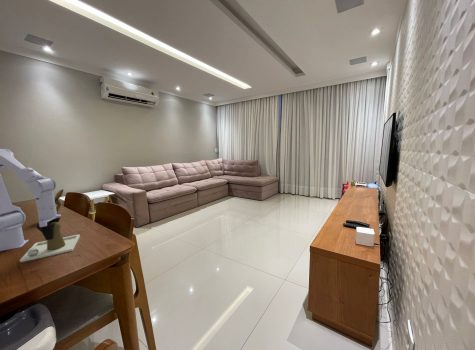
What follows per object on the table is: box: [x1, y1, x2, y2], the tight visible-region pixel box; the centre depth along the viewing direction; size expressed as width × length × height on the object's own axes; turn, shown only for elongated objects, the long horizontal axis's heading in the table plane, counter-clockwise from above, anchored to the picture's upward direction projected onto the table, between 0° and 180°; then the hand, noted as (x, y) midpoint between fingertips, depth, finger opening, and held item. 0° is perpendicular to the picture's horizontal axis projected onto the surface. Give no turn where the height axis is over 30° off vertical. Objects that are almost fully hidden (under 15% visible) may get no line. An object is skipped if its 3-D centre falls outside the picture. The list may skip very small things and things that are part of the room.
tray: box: [19, 233, 81, 263], centre depth 87 cm, size 16×16×2 cm
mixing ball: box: [26, 248, 39, 257], centre depth 80 cm, size 3×3×3 cm
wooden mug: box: [54, 189, 64, 215], centre depth 122 cm, size 9×14×18 cm, turn 148°
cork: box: [46, 221, 65, 250], centre depth 87 cm, size 6×6×11 cm
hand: (51, 236), depth 86 cm, fingers closed on cork, 5 cm apart
